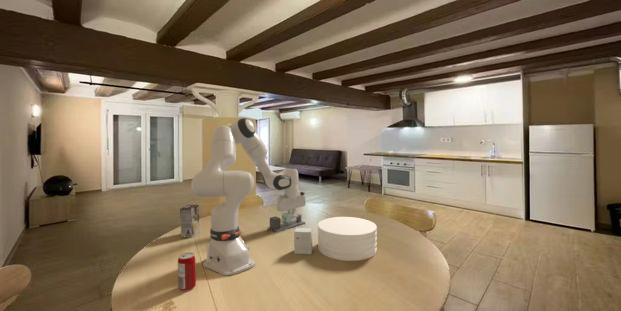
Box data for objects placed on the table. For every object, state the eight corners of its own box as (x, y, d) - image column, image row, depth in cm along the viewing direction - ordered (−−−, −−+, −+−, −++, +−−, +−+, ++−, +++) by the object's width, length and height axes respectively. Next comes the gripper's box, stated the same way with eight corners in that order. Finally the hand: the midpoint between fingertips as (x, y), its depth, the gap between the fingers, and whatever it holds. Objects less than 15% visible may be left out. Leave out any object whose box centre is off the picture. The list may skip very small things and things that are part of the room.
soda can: (198, 283, 96) (197, 251, 95) (192, 291, 90) (191, 257, 90) (182, 283, 96) (181, 251, 95) (175, 292, 90) (174, 258, 89)
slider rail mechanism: (305, 223, 165) (305, 212, 165) (276, 232, 150) (276, 220, 149) (296, 220, 171) (295, 210, 171) (267, 228, 156) (267, 217, 156)
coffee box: (188, 232, 151) (188, 204, 150) (199, 232, 151) (199, 204, 150) (180, 237, 142) (179, 208, 141) (192, 237, 142) (191, 208, 141)
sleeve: (291, 222, 160) (291, 213, 160) (286, 224, 157) (286, 214, 157) (287, 221, 163) (287, 212, 163) (281, 222, 161) (281, 213, 160)
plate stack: (378, 263, 111) (378, 237, 110) (313, 258, 117) (313, 232, 116) (375, 239, 138) (375, 218, 138) (322, 236, 144) (322, 215, 143)
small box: (312, 249, 125) (312, 228, 125) (311, 254, 120) (311, 232, 119) (296, 249, 126) (295, 227, 126) (294, 254, 121) (293, 231, 120)
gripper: (281, 196, 152) (281, 220, 153) (306, 192, 166) (307, 213, 167) (274, 195, 157) (274, 218, 158) (300, 190, 171) (300, 211, 172)
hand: (291, 215), depth 162 cm, fingers closed
